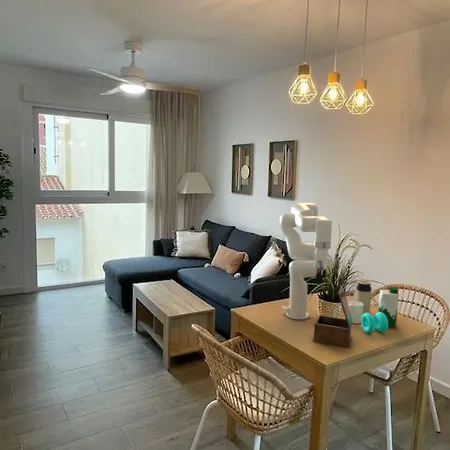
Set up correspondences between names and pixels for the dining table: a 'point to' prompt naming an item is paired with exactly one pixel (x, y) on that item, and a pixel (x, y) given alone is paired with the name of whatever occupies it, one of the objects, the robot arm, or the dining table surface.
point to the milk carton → (389, 305)
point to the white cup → (356, 311)
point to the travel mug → (364, 294)
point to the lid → (346, 305)
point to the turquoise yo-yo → (374, 322)
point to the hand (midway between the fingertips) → (320, 280)
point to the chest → (332, 331)
